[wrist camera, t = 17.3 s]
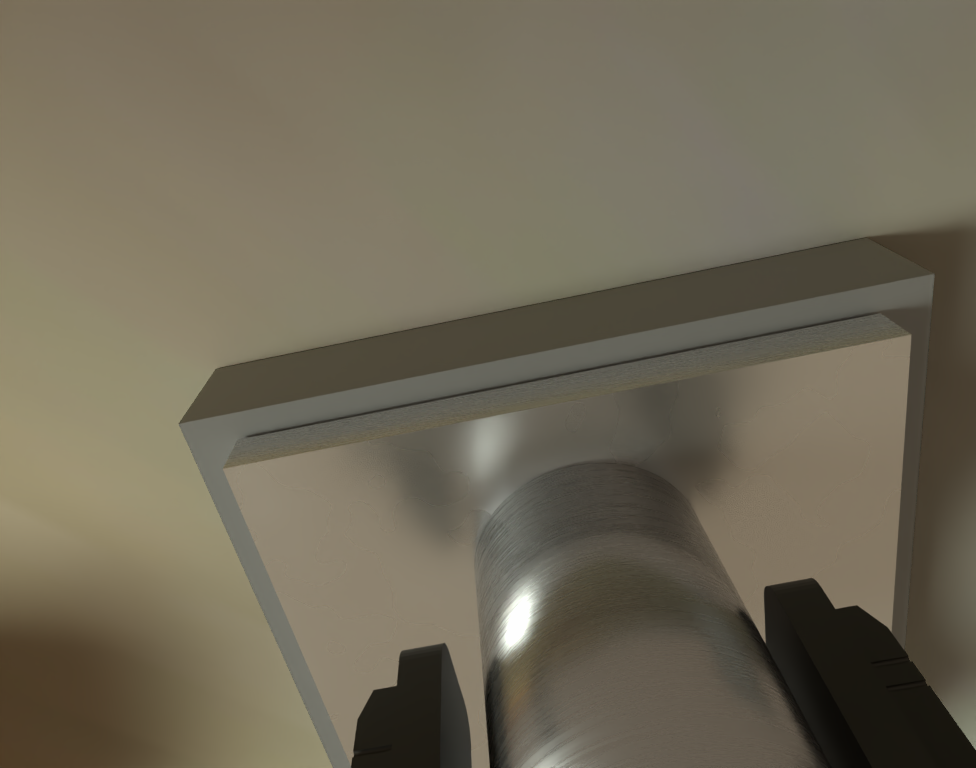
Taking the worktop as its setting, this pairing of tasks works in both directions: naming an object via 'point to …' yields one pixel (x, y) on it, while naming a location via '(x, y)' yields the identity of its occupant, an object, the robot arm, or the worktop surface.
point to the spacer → (622, 635)
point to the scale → (552, 353)
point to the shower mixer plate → (572, 441)
